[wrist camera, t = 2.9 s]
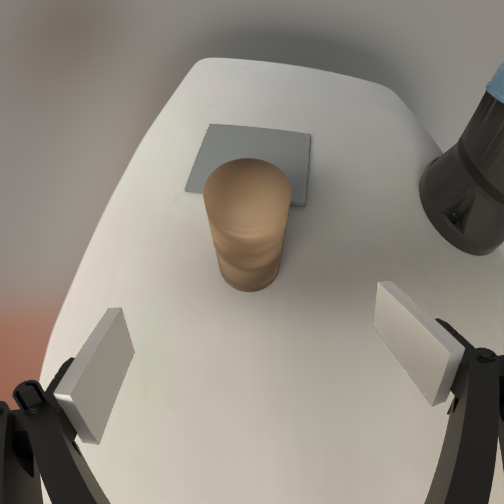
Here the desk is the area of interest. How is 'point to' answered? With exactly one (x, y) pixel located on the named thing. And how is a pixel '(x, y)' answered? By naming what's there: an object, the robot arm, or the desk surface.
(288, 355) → the desk surface
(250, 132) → the slate mat
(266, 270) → the walnut canister
